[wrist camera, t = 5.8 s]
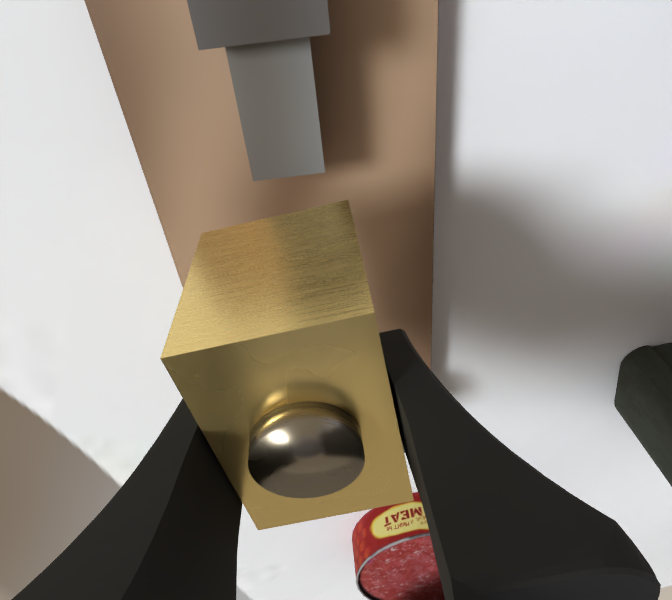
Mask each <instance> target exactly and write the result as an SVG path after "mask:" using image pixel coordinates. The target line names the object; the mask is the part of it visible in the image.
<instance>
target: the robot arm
mask: <svg viewBox="0 0 672 600" xmlns="http://www.w3.org/2000/svg"><path fill="white" fill-rule="evenodd" d="M379 336H380V341H381V346H382V350H383V355H384V360H385V365H386V370H387V374H388V379H389V384H390V389H391V394H392V398H393V403H394V408H395V413H396V418H397V422H398V427H399V432H400V437H401V441H402V444H403V447H404V450H405V453H406V456H407V459H408V462H409V465H410V468H411V471H412V474H413V477H414V480H415V484H416V487H417V490H418V493H419V496H420V499H421V502H422V505H423V509H424V513H425V516H426V520H427V524H428V528H429V533H430V537H431V541H432V545H433V550H434V554H435V558H436V563H437V567H438V571H439V576H440V580H441V584H442V589H443V593H444V597H445V600H658V597H659V594H660V586H661V585H660V583H659V582H658V580H657V578H656V576H655V573H654V572H653V570H652V568H651V567H650V565H649V564H648V562H647V561H646V559H645V558H644V556H643V555H642V554H641V552H640V551H639V550H638V548H637V547H636V546H635V544H634V543H633V542H632V540H631V539H630V538H629V537H628V535H627V534H626V533H625V532H624V531H623V529H622V528H621V527H620V526H619V525H618V523H617V522H616V521H614V520H613V519H611V518H609V517H608V516H606V515H604V514H603V513H601V512H599V511H598V510H596V509H594V508H593V507H591V506H589V505H588V504H586V503H585V502H583V501H582V500H580V499H578V498H577V497H575V496H574V495H572V494H570V493H569V492H568V491H566V490H565V489H563V488H562V487H560V486H559V485H557V484H556V483H554V482H553V481H551V480H550V479H548V478H547V477H545V476H544V475H543V474H541V473H540V472H539V471H537V470H536V469H535V468H533V467H532V466H531V465H529V464H528V463H527V462H525V461H524V460H523V459H522V458H520V457H519V456H518V455H516V454H515V453H514V452H512V451H511V450H510V449H508V448H507V447H506V446H505V445H504V444H503V443H501V442H500V441H499V440H498V439H497V438H495V437H494V436H493V435H492V434H491V433H490V432H489V431H488V430H486V429H485V428H484V427H483V426H482V425H481V424H480V423H479V422H478V421H477V420H476V419H475V418H473V417H472V416H471V415H470V414H469V413H468V412H467V411H466V410H465V409H464V408H463V407H462V405H461V404H460V403H459V402H458V401H457V400H456V399H455V398H454V397H453V396H452V395H451V394H450V393H449V391H448V390H447V389H446V388H445V387H444V386H443V385H442V383H441V382H440V381H439V380H438V379H437V377H436V376H435V375H434V374H433V373H432V371H431V370H430V369H429V368H428V366H427V365H426V364H425V362H424V361H423V360H422V358H421V357H420V355H419V354H418V352H417V351H416V349H415V348H414V346H413V345H412V343H411V341H410V340H409V338H408V336H407V334H406V332H405V331H404V330H402V329H395V330H390V331H386V332H381V333H379ZM241 509H242V501H241V499H240V497H239V495H238V494H237V492H236V490H235V488H234V487H233V485H232V483H231V481H230V480H229V478H228V476H227V474H226V473H225V471H224V469H223V467H222V466H221V464H220V462H219V460H218V459H217V457H216V455H215V453H214V452H213V450H212V448H211V446H210V445H209V443H208V441H207V439H206V438H205V436H204V434H203V432H202V431H201V429H200V427H199V425H198V423H197V422H196V420H195V418H194V416H193V415H192V413H191V411H190V409H189V408H188V406H187V404H186V402H185V401H184V399H182V401H181V402H180V404H179V405H178V407H177V409H176V410H175V412H174V413H173V415H172V417H171V418H170V420H169V421H168V423H167V424H166V426H165V427H164V429H163V430H162V432H161V434H160V435H159V437H158V438H157V440H156V441H155V443H154V444H153V445H152V447H151V448H150V450H149V451H148V453H147V454H146V455H145V457H144V458H143V460H142V461H141V462H140V464H139V465H138V467H137V468H136V469H135V471H134V472H133V473H132V475H131V476H130V477H129V479H128V480H127V481H126V482H125V484H124V485H123V486H122V487H121V489H120V490H119V491H118V492H117V493H116V495H115V496H114V497H113V498H112V499H111V501H110V502H109V503H108V504H107V505H106V506H105V508H104V509H103V510H102V511H101V512H100V513H99V514H98V515H97V517H96V518H95V519H94V520H93V521H92V522H91V523H90V524H89V525H88V526H87V527H86V528H85V529H84V531H82V533H81V534H80V535H79V536H78V537H77V538H76V539H75V540H74V541H73V542H72V543H71V544H70V545H69V546H68V547H67V548H66V549H65V550H64V551H63V553H61V554H60V555H59V556H58V557H57V558H56V559H55V560H54V561H53V562H52V563H51V564H50V565H49V566H48V567H47V568H46V569H45V570H44V571H43V572H42V573H40V574H39V575H38V576H37V577H36V578H35V579H34V580H33V581H32V582H31V583H30V584H29V585H28V586H26V588H24V589H23V590H22V591H21V592H20V593H19V594H17V595H16V596H15V597H14V598H13V599H12V600H236V575H237V547H238V534H239V526H240V518H241Z"/></svg>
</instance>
